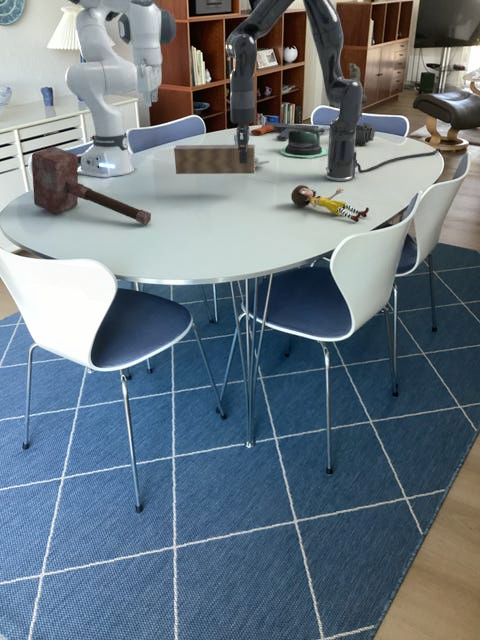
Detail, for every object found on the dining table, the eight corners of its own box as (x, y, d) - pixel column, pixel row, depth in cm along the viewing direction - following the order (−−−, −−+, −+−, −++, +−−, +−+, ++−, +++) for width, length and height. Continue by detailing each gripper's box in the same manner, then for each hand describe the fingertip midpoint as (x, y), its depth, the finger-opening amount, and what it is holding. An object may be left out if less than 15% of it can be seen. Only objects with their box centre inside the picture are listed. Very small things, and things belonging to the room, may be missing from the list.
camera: (240, 131, 219) (270, 136, 210) (241, 161, 225) (269, 168, 216) (225, 135, 213) (254, 141, 204) (226, 165, 219) (254, 172, 210)
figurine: (354, 211, 157) (283, 185, 169) (349, 235, 161) (280, 207, 174) (376, 199, 166) (307, 175, 178) (371, 222, 170) (303, 197, 182)
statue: (367, 132, 266) (374, 63, 251) (349, 133, 264) (355, 64, 249) (357, 127, 275) (362, 61, 260) (339, 129, 273) (344, 62, 258)
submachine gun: (244, 131, 261) (267, 121, 279) (244, 137, 262) (267, 127, 281) (306, 137, 247) (327, 126, 266) (306, 143, 248) (326, 132, 267)
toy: (345, 120, 249) (377, 123, 242) (343, 139, 253) (375, 143, 246) (337, 123, 243) (369, 127, 236) (336, 143, 247) (367, 147, 240)
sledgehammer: (159, 186, 162) (53, 145, 173) (139, 196, 154) (29, 152, 166) (154, 239, 172) (54, 196, 183) (135, 250, 164) (32, 205, 176)
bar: (176, 174, 181) (173, 148, 177) (178, 169, 185) (176, 145, 181) (254, 173, 179) (253, 148, 175) (254, 169, 183) (254, 144, 179)
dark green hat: (332, 145, 241) (326, 158, 224) (294, 164, 249) (286, 177, 233) (317, 113, 235) (310, 124, 219) (279, 133, 244) (269, 145, 228)
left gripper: (150, 61, 167) (154, 109, 174) (163, 54, 185) (166, 98, 192) (129, 61, 168) (135, 109, 175) (144, 55, 185) (148, 99, 192)
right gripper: (253, 109, 165) (254, 167, 174) (255, 101, 177) (256, 155, 186) (228, 110, 165) (230, 167, 174) (232, 101, 178) (233, 155, 186)
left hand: (151, 104), depth 184 cm, fingers open, 8 cm apart
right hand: (243, 160), depth 180 cm, fingers closed on bar, 4 cm apart
